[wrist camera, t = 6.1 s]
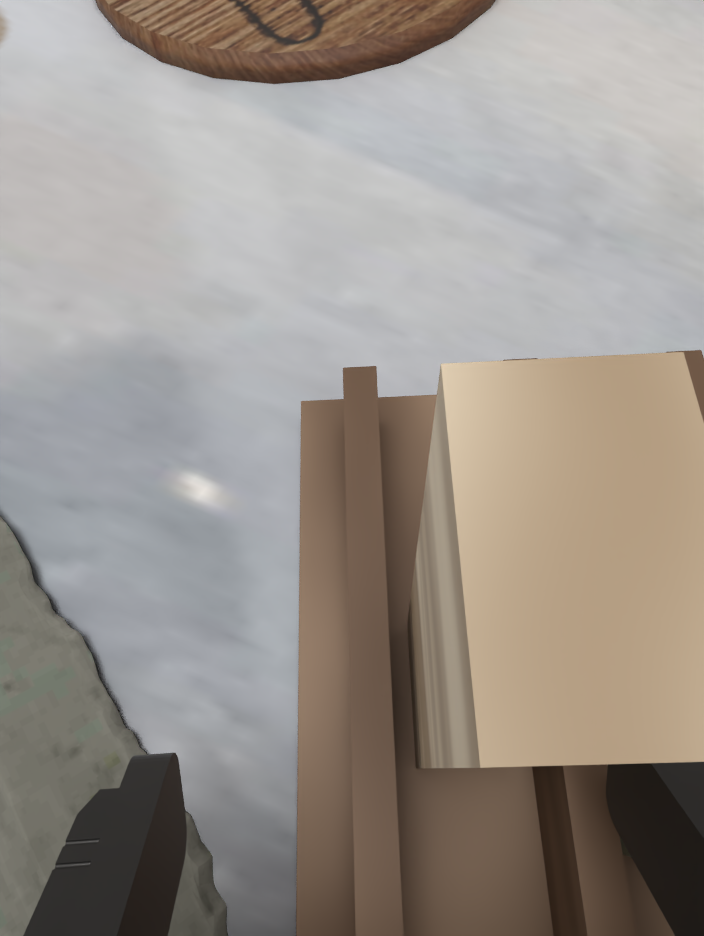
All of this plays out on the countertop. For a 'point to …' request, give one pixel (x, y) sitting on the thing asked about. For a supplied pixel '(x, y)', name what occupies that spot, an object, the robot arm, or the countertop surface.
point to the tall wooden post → (561, 566)
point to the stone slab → (64, 754)
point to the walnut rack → (392, 735)
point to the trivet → (288, 34)
